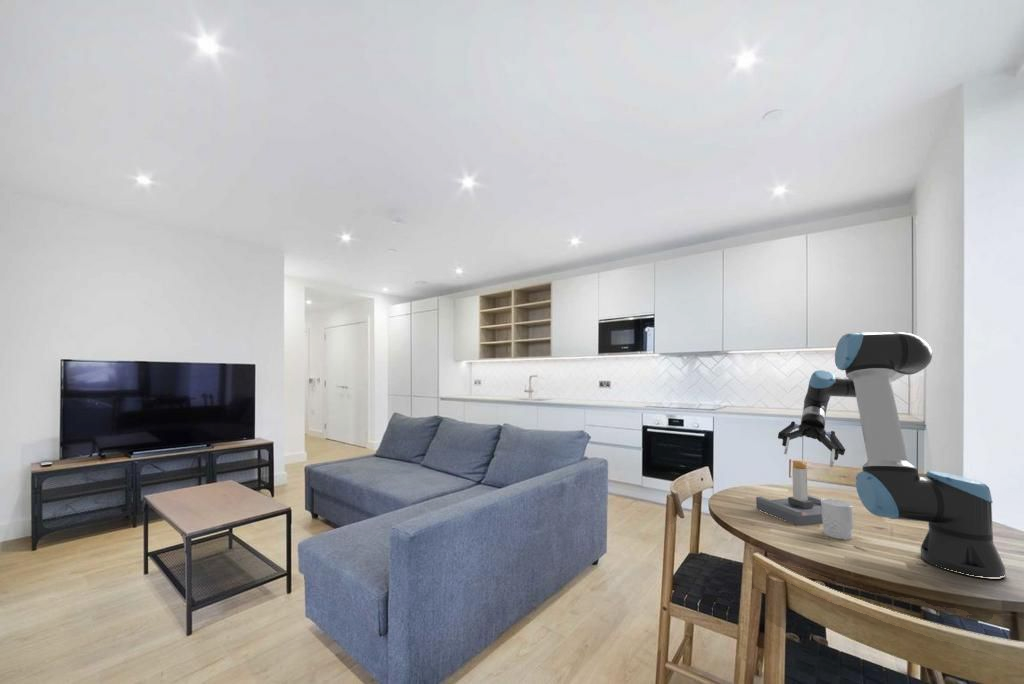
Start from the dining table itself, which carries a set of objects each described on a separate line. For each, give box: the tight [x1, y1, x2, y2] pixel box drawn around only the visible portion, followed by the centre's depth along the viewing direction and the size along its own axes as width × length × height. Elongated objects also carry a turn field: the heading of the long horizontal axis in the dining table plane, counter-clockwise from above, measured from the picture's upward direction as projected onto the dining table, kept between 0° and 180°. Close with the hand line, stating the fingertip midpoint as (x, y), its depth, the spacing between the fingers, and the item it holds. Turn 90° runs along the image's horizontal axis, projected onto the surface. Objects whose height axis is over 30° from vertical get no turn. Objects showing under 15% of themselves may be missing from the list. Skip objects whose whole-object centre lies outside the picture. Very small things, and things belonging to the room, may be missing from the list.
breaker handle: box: [787, 460, 813, 508], centre depth 147 cm, size 6×4×15 cm, turn 16°
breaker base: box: [755, 494, 823, 527], centre depth 146 cm, size 16×22×4 cm
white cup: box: [820, 498, 854, 541], centre depth 129 cm, size 8×8×10 cm
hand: (808, 457), depth 149 cm, fingers open, 13 cm apart
